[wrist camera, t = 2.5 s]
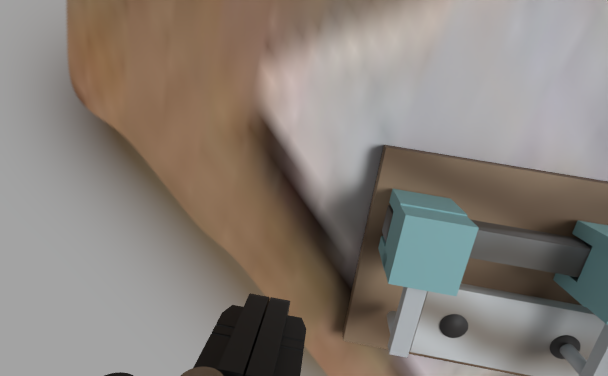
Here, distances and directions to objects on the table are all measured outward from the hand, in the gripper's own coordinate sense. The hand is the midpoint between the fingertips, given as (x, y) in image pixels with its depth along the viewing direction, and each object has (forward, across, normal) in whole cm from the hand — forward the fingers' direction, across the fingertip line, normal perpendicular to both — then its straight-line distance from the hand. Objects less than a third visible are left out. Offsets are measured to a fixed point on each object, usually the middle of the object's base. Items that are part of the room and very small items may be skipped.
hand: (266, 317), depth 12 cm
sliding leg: (+13, -8, +3) cm, 15 cm away
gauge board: (+14, -14, +3) cm, 20 cm away
